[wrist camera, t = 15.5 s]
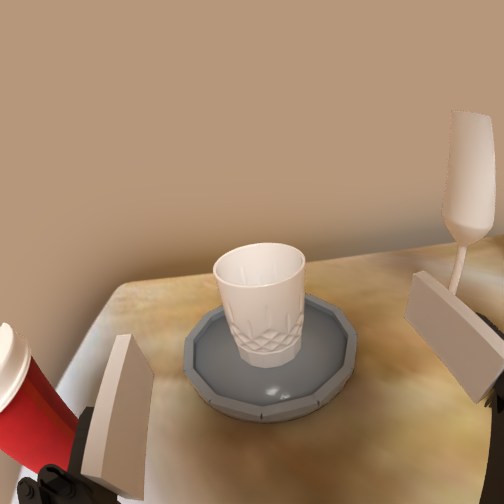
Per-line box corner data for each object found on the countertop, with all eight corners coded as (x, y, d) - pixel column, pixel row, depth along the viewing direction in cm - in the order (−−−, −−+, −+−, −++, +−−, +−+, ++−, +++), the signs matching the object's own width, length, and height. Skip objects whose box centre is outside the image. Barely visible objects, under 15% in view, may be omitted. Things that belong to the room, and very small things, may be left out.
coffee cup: (63, 438, 17) (-31, 324, 10) (129, 436, 18) (36, 308, 12) (60, 506, 9) (-73, 401, 3) (137, 513, 11) (-12, 415, 5)
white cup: (217, 348, 28) (195, 267, 24) (268, 313, 32) (259, 236, 28) (270, 386, 22) (257, 299, 18) (322, 339, 27) (323, 254, 23)
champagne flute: (474, 315, 25) (506, 122, 15) (449, 338, 23) (487, 113, 13) (440, 292, 31) (458, 115, 21) (412, 310, 29) (430, 107, 19)
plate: (359, 309, 32) (360, 297, 31) (339, 439, 17) (342, 430, 16) (230, 296, 39) (228, 285, 38) (157, 391, 24) (151, 380, 23)
